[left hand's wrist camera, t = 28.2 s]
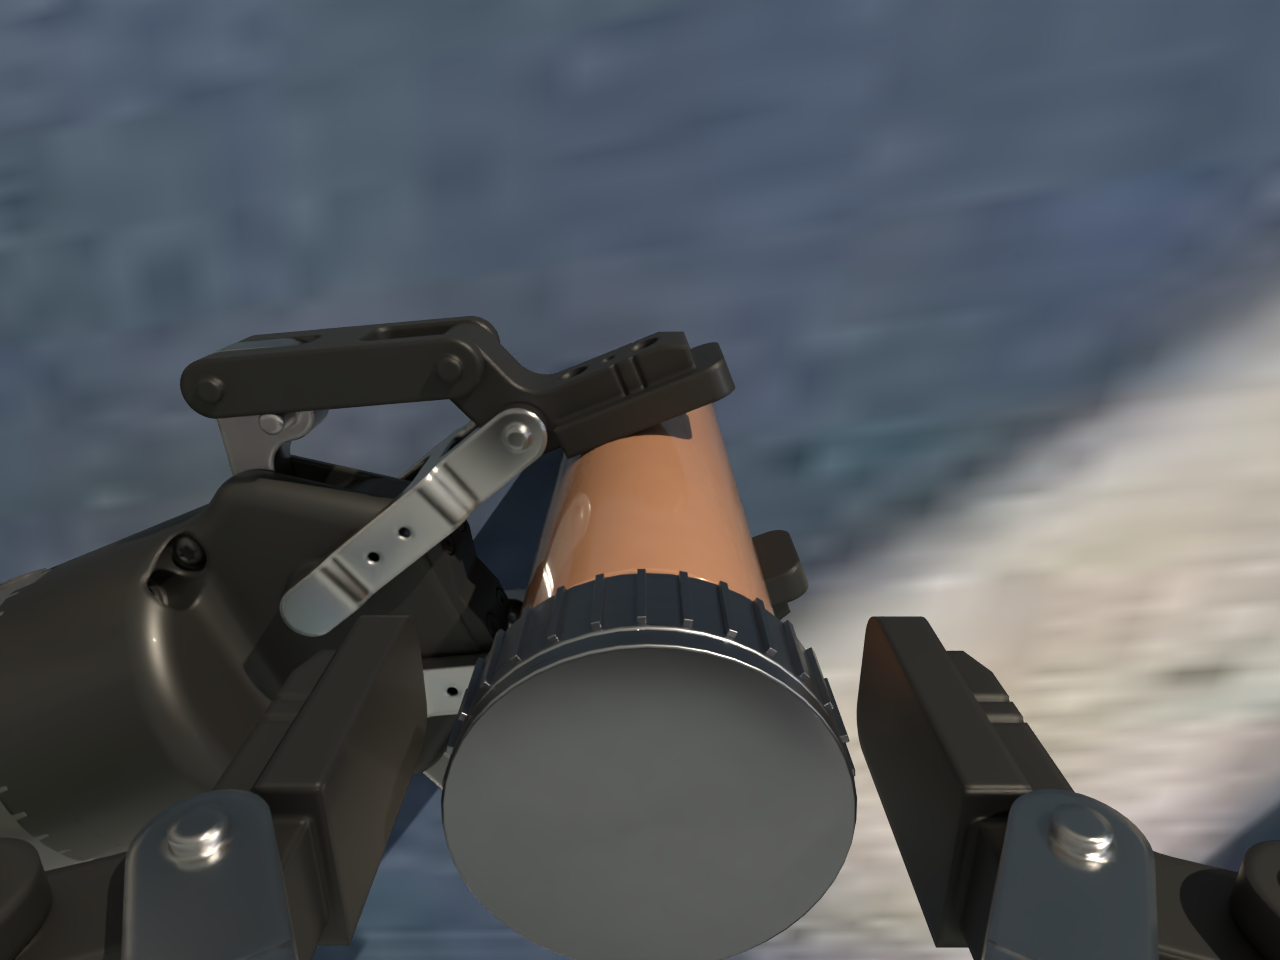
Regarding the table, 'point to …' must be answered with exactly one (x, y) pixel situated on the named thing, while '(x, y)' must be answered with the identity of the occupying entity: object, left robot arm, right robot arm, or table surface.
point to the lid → (648, 773)
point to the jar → (649, 513)
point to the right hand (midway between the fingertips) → (759, 466)
